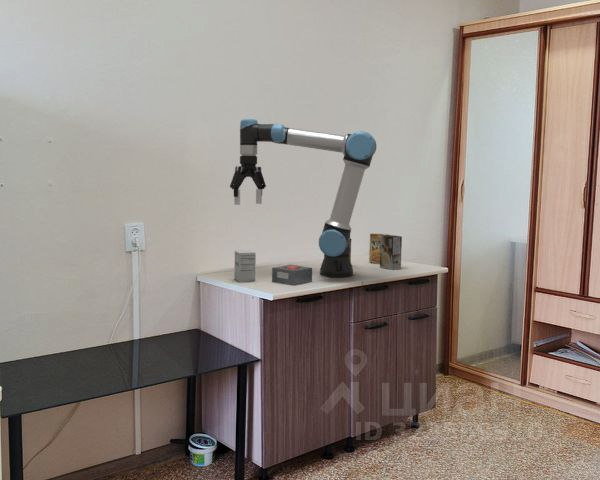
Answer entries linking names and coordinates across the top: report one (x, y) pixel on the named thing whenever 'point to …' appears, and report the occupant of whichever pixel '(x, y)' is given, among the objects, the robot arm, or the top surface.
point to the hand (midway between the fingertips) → (248, 204)
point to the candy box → (375, 247)
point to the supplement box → (245, 266)
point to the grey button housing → (292, 275)
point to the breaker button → (292, 267)
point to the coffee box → (390, 251)
